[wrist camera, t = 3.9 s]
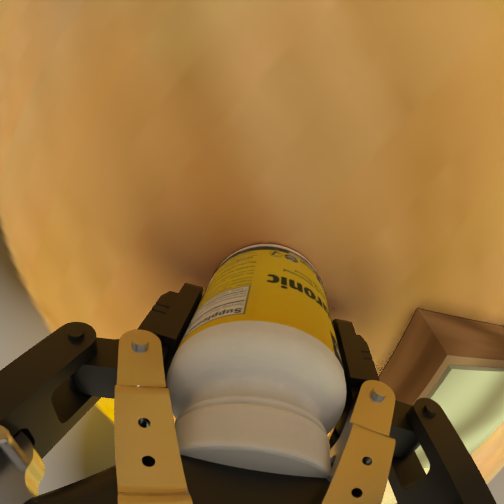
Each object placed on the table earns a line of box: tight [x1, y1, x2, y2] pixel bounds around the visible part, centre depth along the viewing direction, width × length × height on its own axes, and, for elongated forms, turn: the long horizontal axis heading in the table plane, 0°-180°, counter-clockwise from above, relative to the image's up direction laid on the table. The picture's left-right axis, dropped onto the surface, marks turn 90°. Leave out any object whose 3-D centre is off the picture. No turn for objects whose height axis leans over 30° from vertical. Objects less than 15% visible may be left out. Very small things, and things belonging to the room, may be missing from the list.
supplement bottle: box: [166, 244, 347, 478], centre depth 10 cm, size 5×5×10 cm
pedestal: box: [379, 308, 504, 468], centre depth 14 cm, size 10×10×4 cm
